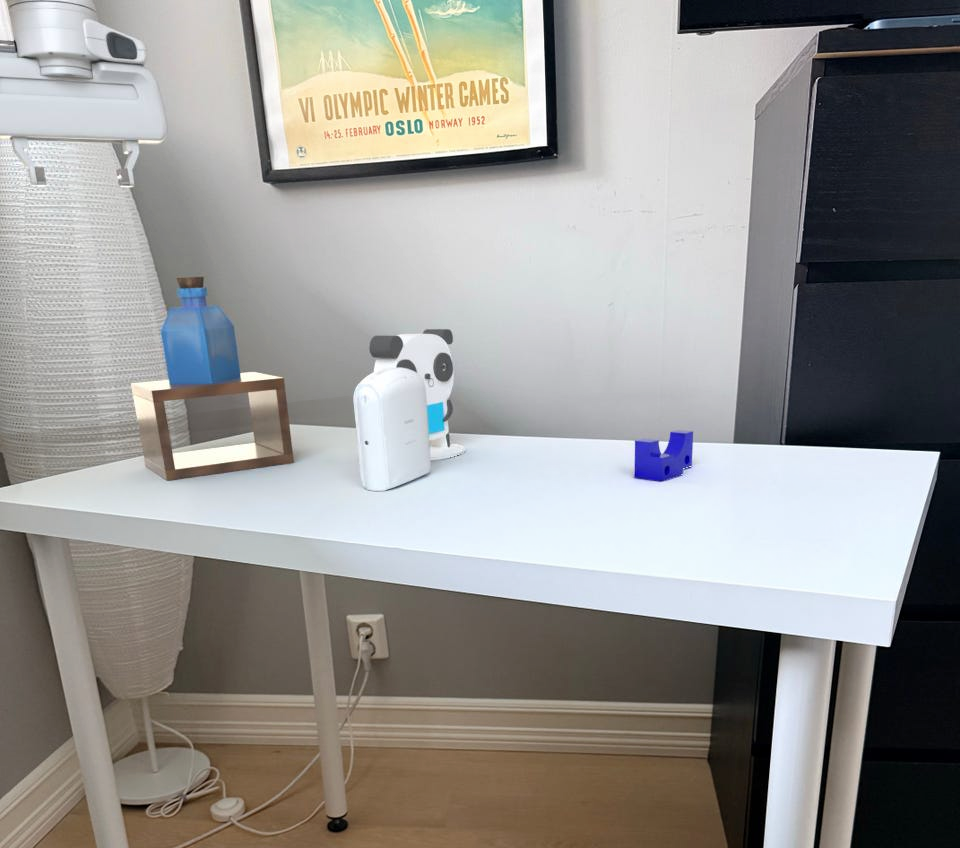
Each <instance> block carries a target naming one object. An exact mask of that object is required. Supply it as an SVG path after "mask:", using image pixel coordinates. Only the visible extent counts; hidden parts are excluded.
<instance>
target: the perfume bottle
mask: <svg viewBox="0 0 960 848" xmlns="http://www.w3.org/2000/svg"><path fill="white" fill-rule="evenodd" d="M204 278H205V277H204V276H189V277H187V276H186V277H185V276H184V277H176V281H177V283H178V286H179V288H176V291H177V293H176V294H177V298H180V302H181V306H179V307H170V309H169V310H168V312H167V315H166V318H165V320H164V322H163V325H162V326H161V328H160V334H161V340H162V341H161V342H162V347H163V352H164V359H165V360H164V361H165V366H166V372H167V377H168V380H169V384H205V383H217V382H221V381H226V380H231V379H236V378H241V375H240V373H241V368H240V361H239V360H240V359H239V355H238V354H239V353H238V346H237V339H236V331H235V326H234V324H233V323H232V321H231V320H230V319H229V317H228V316H227V315H226V313H224V311H223V310H222V308H221V307H220V306H219V305H218V304H217V305H208V304H207V299H206V297H208V288H207V287H204Z"/></svg>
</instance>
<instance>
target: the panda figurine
mask: <svg viewBox="0 0 960 848" xmlns="http://www.w3.org/2000/svg"><path fill="white" fill-rule="evenodd" d="M453 341H454V334H453V332H452V330H451V329H448V328H427V329H424V330H423V332H422V333H399V334H396V335H374V336H373V337H372V338H371V339H370V341H369V348H368V349H369V353H370V356H371V357H372V358H375V363H374V367H373V372H375V371H377V370H379V369H382V368H388V367H395V368H407V369H410V370H412V371H414V372H416V373H418V374H419V375H420V376H421V378H422V379H423V381H424V384H425V388H426V399H427V413H428V427H429V442H430V458H431V461H439V460H440V461H441V460H447V459H450V457H451V458H455V457H458V456H457V455H459V456H461V455H463V454H465V453H466V447H465V446H464V445H462V444H457V443H451V438H450V431H449V419H450V418H451V416H452V414H453V409H454V408H453V403H452V400H451V399H449V397H450V395H451V393H452V390H453V386H454V381H455V368H454V361H453V358H452V357H453V356H452V354H451V350H450V347H449V345H452V344H453ZM464 452H465V453H464ZM460 454H461V455H460ZM454 456H455V457H454Z"/></svg>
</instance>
